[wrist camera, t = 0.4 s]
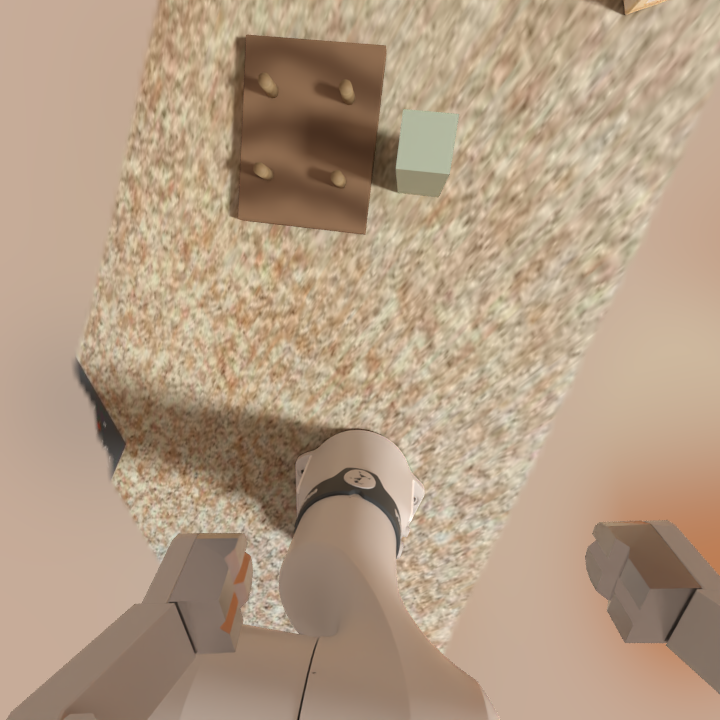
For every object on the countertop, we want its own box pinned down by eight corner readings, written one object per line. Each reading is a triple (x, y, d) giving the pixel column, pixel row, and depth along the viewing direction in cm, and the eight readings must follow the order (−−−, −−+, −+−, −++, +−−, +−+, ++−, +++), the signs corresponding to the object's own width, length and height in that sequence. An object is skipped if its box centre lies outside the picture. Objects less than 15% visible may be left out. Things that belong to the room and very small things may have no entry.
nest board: (365, 234, 50) (361, 231, 46) (242, 220, 52) (227, 215, 47) (386, 52, 46) (384, 29, 41) (251, 41, 47) (235, 18, 43)
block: (438, 197, 48) (449, 174, 37) (397, 192, 49) (395, 168, 37) (445, 152, 47) (459, 114, 36) (403, 148, 48) (403, 109, 36)
